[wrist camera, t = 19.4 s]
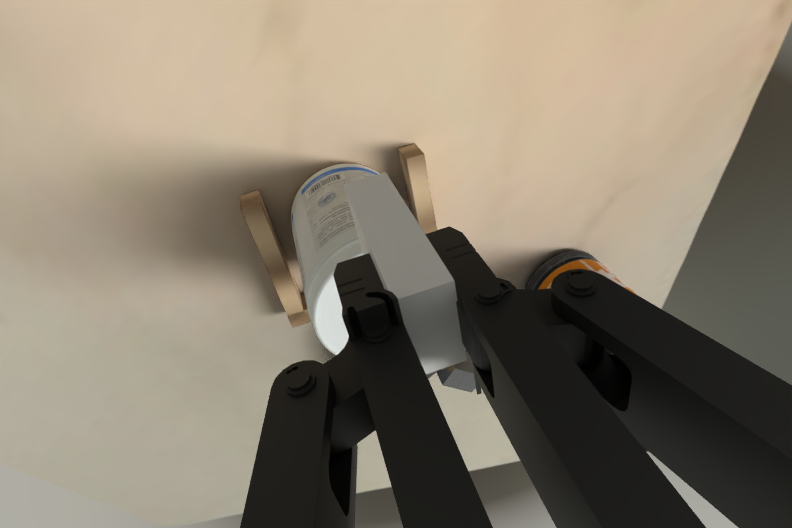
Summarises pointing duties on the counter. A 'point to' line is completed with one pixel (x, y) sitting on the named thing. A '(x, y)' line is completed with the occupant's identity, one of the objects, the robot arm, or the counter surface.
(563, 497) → the robot arm
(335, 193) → the supplement tub
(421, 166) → the brown piece
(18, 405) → the counter surface
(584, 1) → the counter surface
